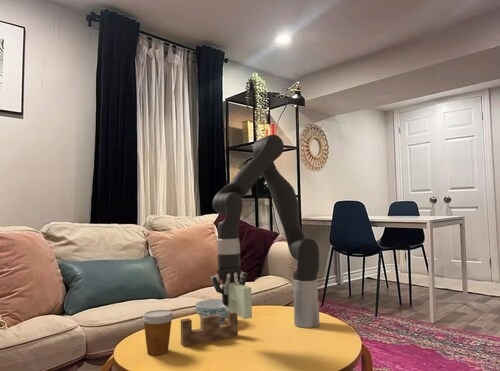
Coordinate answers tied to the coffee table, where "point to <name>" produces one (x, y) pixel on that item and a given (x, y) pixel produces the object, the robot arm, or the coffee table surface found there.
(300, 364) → the coffee table surface
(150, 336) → the disposable coffee cup
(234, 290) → the cross piece
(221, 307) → the chinaware
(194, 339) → the rail
